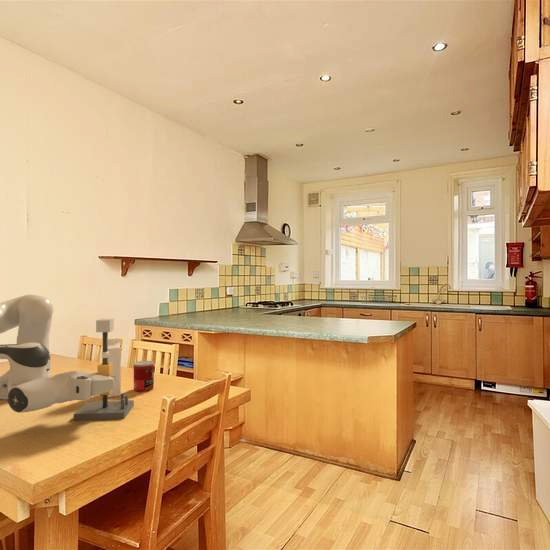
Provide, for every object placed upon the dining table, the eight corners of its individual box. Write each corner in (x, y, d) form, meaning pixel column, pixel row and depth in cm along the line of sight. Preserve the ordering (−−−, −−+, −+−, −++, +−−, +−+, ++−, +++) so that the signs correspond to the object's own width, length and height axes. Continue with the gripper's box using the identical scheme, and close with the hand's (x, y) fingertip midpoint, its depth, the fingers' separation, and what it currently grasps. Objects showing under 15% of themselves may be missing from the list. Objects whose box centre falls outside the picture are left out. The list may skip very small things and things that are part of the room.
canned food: (147, 392, 155) (147, 365, 155) (129, 391, 157) (129, 364, 157) (157, 387, 163) (157, 361, 162) (140, 386, 164) (140, 360, 164)
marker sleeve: (97, 395, 131) (97, 365, 131) (101, 391, 135) (101, 362, 135) (109, 394, 131) (109, 365, 131) (112, 391, 135) (112, 362, 135)
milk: (120, 395, 151) (120, 339, 151) (103, 398, 148) (104, 340, 148) (118, 391, 157) (118, 337, 156) (102, 393, 154) (102, 338, 153)
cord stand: (73, 420, 126) (73, 322, 126) (87, 407, 138) (87, 317, 138) (124, 418, 128) (124, 321, 128) (133, 405, 140) (133, 317, 140)
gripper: (50, 390, 127) (88, 380, 139) (89, 401, 117) (127, 389, 129) (50, 371, 127) (88, 363, 139) (89, 380, 117) (127, 370, 129)
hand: (107, 375), depth 134 cm, fingers closed on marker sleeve, 5 cm apart
